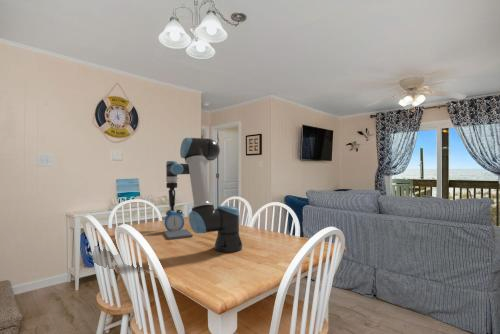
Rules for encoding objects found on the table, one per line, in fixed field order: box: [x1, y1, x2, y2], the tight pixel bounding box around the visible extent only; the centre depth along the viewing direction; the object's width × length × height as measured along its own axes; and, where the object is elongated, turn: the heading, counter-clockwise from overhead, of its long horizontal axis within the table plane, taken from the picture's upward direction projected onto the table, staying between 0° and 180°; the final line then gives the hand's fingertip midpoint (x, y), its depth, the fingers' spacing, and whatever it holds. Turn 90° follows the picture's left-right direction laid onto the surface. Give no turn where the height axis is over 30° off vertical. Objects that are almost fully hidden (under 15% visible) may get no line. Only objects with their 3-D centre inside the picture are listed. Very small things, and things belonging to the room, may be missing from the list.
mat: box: [163, 228, 193, 241], centre depth 180 cm, size 16×15×2 cm
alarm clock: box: [164, 209, 185, 231], centre depth 191 cm, size 13×6×15 cm, turn 107°
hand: (172, 215), depth 199 cm, fingers closed
